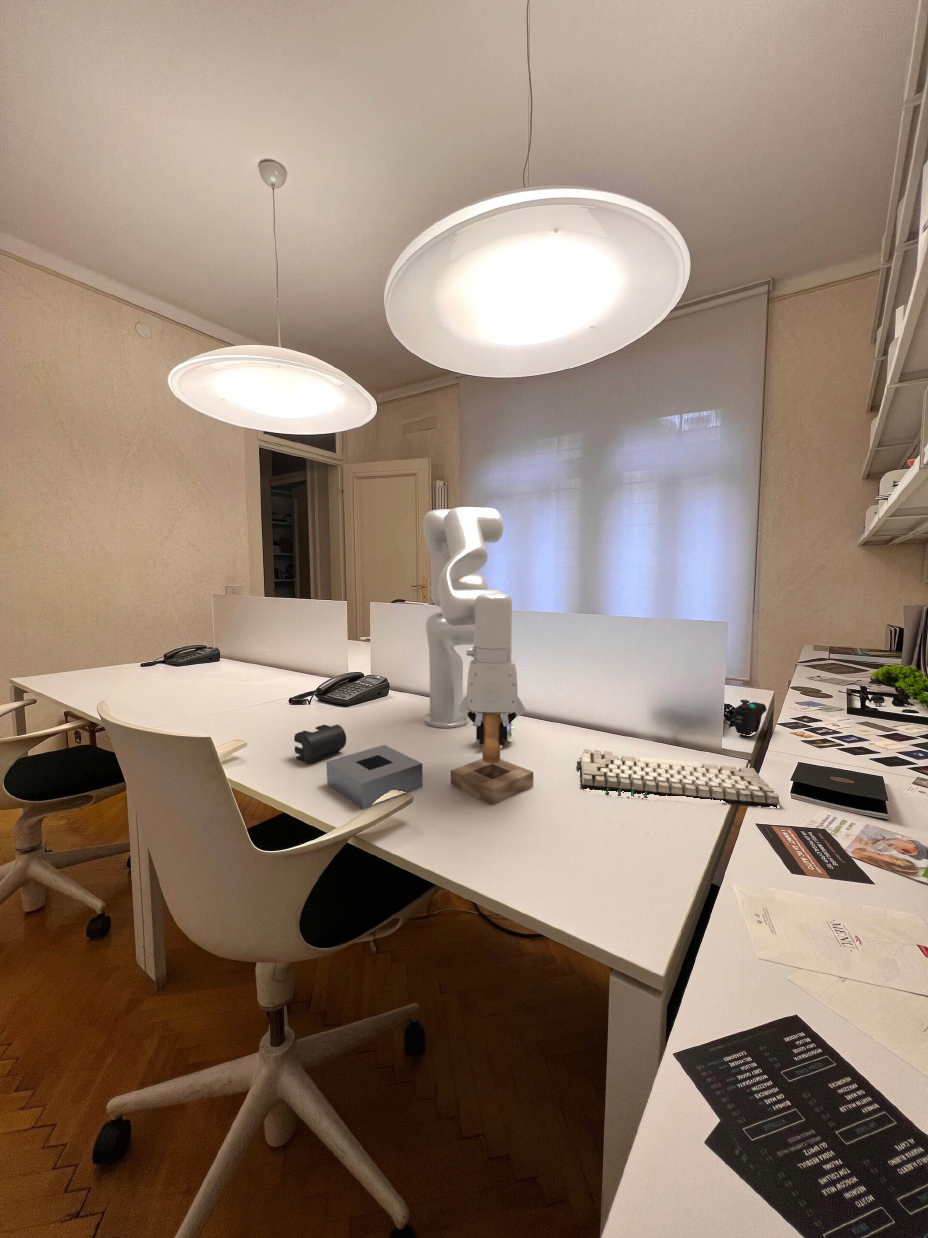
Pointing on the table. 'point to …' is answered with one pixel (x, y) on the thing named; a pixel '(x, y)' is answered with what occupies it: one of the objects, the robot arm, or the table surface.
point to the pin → (491, 737)
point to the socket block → (373, 774)
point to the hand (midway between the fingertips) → (491, 742)
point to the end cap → (319, 742)
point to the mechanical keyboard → (674, 779)
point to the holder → (491, 780)
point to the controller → (748, 717)
